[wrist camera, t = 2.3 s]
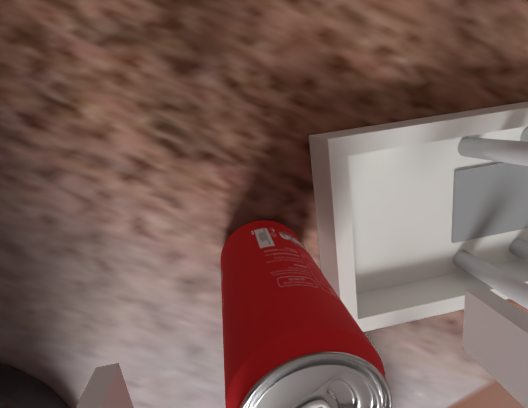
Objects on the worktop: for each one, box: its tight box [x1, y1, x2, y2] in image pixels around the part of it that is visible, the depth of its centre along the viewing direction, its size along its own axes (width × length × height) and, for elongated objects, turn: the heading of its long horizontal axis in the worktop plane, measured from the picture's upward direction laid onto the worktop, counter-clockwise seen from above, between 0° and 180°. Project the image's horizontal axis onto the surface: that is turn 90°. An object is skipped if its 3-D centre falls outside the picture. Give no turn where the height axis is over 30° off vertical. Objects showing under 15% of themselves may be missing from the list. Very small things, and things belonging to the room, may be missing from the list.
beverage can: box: [221, 220, 392, 408], centre depth 15 cm, size 5×5×12 cm
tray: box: [308, 101, 528, 332], centre depth 18 cm, size 18×12×7 cm, turn 98°
